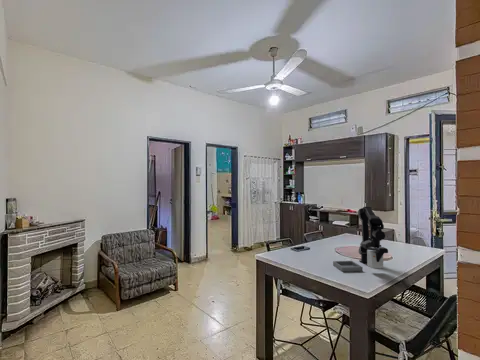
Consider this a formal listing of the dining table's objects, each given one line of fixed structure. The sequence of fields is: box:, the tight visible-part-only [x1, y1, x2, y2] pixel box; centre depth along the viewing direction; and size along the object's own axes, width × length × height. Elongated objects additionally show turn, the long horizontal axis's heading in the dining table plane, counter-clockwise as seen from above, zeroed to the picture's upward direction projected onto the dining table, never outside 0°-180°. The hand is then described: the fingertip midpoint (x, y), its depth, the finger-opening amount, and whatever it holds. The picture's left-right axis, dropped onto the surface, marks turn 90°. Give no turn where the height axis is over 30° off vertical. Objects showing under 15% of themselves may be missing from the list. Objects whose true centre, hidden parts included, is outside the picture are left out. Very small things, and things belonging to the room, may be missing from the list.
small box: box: [367, 250, 384, 269], centre depth 171 cm, size 8×6×10 cm
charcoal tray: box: [332, 260, 363, 273], centre depth 180 cm, size 14×14×3 cm
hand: (375, 260), depth 171 cm, fingers closed on small box, 6 cm apart
